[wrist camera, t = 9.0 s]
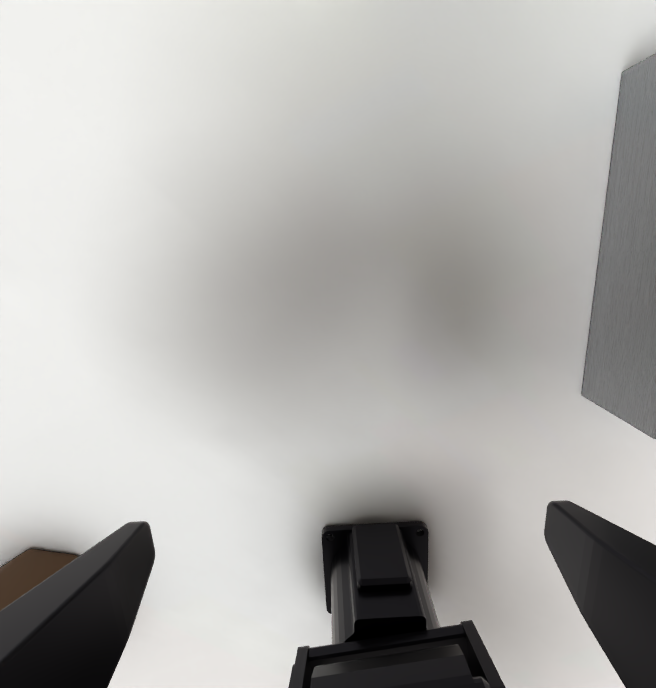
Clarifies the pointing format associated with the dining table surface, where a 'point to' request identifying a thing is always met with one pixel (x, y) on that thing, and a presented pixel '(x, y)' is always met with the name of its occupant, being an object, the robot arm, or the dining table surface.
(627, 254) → the grey block with socket
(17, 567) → the beer bottle
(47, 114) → the dining table surface
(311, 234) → the dining table surface
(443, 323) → the dining table surface
